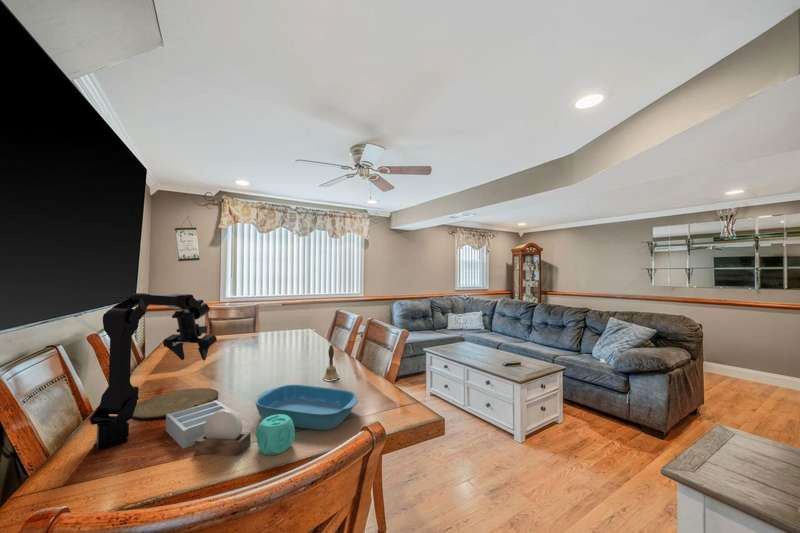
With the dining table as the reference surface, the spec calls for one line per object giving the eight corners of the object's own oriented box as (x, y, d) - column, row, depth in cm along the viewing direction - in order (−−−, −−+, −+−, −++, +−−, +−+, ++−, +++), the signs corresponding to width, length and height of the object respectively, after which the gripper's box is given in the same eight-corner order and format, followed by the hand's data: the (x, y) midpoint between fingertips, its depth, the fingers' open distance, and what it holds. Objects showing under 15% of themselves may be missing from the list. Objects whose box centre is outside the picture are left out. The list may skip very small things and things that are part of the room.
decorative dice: (281, 437, 98) (281, 411, 99) (295, 447, 93) (295, 419, 93) (255, 448, 92) (256, 420, 92) (268, 458, 87) (269, 429, 87)
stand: (194, 453, 89) (195, 440, 89) (209, 442, 95) (209, 430, 95) (238, 455, 88) (239, 442, 89) (250, 444, 94) (250, 432, 94)
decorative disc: (178, 384, 140) (237, 385, 134) (178, 391, 140) (237, 393, 134) (106, 411, 112) (177, 415, 106) (106, 421, 112) (177, 425, 106)
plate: (237, 447, 90) (237, 412, 91) (204, 446, 91) (204, 411, 91) (242, 443, 93) (242, 408, 93) (209, 442, 93) (209, 408, 94)
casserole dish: (366, 409, 120) (366, 390, 120) (341, 439, 98) (341, 416, 98) (281, 399, 129) (281, 381, 129) (241, 424, 107) (241, 403, 107)
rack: (183, 448, 92) (183, 430, 92) (165, 430, 102) (166, 414, 102) (236, 429, 103) (236, 413, 103) (216, 414, 114) (216, 400, 114)
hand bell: (319, 380, 151) (319, 346, 151) (327, 375, 159) (328, 343, 159) (334, 382, 148) (335, 348, 149) (342, 376, 156) (343, 344, 156)
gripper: (222, 316, 132) (227, 350, 136) (179, 316, 134) (186, 349, 137) (204, 328, 122) (210, 364, 125) (158, 327, 123) (166, 363, 127)
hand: (193, 359), depth 129 cm, fingers open, 9 cm apart
